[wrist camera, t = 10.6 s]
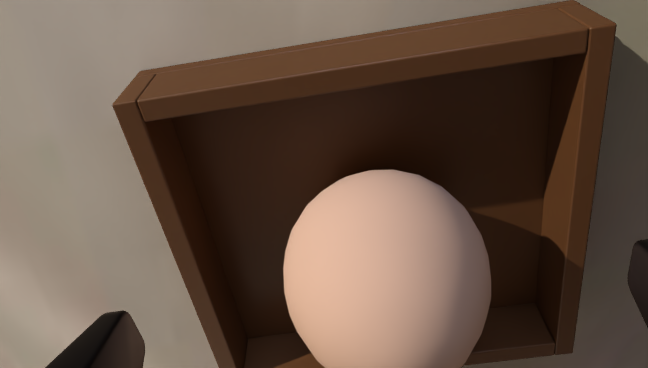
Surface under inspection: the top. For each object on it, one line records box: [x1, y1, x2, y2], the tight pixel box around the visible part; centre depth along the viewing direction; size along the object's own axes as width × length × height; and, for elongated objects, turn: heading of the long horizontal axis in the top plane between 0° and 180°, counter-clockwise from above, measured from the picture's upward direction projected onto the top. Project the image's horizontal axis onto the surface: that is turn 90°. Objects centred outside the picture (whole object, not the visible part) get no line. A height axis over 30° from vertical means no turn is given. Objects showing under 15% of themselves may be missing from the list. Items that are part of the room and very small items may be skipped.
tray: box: [113, 0, 616, 368], centre depth 21 cm, size 16×15×3 cm
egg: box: [283, 170, 491, 368], centre depth 18 cm, size 7×7×8 cm
